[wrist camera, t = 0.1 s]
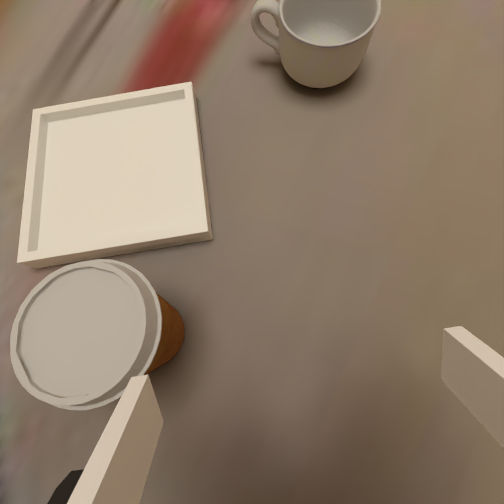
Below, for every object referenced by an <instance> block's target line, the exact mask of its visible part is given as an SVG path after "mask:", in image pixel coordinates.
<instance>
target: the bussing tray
mask: <svg viewBox="0 0 504 504" xmlns="http://www.w3.org/2000/svg"><path fill="white" fill-rule="evenodd" d="M207 240H213V237H212V228H211V219H210V211H209V202H208V193H207V185H206V176H205V167H204V158H203V150H202V141H201V132H200V124H199V115H198V106H197V98H196V95H195V91H194V88H193V85H192V82H187V83H181V84H175V85H170V86H164V87H158V88H152V89H147V90H141V91H135V92H130V93H124V94H118V95H113V96H107V97H101V98H96V99H90V100H84V101H78V102H73V103H67V104H61V105H56V106H50V107H44V108H39V109H33V116H32V125H31V135H30V144H29V154H28V163H27V173H26V182H25V192H24V201H23V211H22V220H21V230H20V239H19V249H18V258H17V263H19V264H22V265H26V266H29V267H32V268H35V269H37V268H43V267H49V266H56V265H62V264H68V263H74V262H80V261H86V260H92V259H98V258H104V257H110V256H116V255H122V254H128V253H134V252H140V251H147V250H153V249H159V248H165V247H171V246H177V245H183V244H189V243H195V242H201V241H207Z"/></svg>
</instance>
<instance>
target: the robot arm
mask: <svg viewBox="0 0 504 504" xmlns="http://www.w3.org/2000/svg"><path fill="white" fill-rule="evenodd" d="M441 380H442V381H443V382H444V384H445V385H446V386H447V387H448V388H449V389H450V390H451V391H452V392H453V393H454V394H455V396H456V397H457V398H458V399H459V400H460V401H461V402H462V403H463V404H464V405H465V407H466V408H467V409H468V410H469V411H470V412H471V413H472V414H473V415H474V416H475V418H476V419H477V420H478V421H479V422H480V423H481V424H482V425H483V426H484V427H485V429H486V430H487V431H488V432H489V433H490V434H491V435H492V436H493V437H494V438H495V439H496V441H497V442H498V443H499V444H500V445H501V446H502V447H503V448H504V358H503V357H502V356H501V355H499V354H498V353H497V352H495V351H494V350H493V349H491V348H490V347H489V346H487V345H486V344H485V343H483V342H482V341H481V340H479V339H478V338H477V337H475V336H474V335H473V334H471V333H470V332H469V331H467V330H466V329H465V328H463V327H462V326H458V327H452V328H445V329H444V333H443V351H442V369H441ZM163 423H164V421H163V418H162V415H161V412H160V409H159V406H158V403H157V400H156V397H155V393H154V390H153V387H152V384H151V381H150V378H149V375H142V376H135V377H131V379H130V381H129V383H128V385H127V387H126V389H125V390H124V392H123V394H122V396H121V398H120V400H119V402H118V404H117V406H116V408H115V410H114V412H113V414H112V416H111V418H110V420H109V422H108V424H107V426H106V428H105V430H104V432H103V434H102V436H101V438H100V440H99V441H98V443H97V445H96V447H95V449H94V451H93V453H92V455H91V457H90V459H89V461H88V463H87V465H86V467H85V469H83V470H76V471H71V472H70V473H69V474H68V475H67V477H66V478H65V479H64V480H63V481H62V482H61V483H60V485H59V486H58V487H57V488H56V489H55V491H54V493H53V495H52V496H51V498H50V500H49V502H48V504H139V503H140V500H141V496H142V493H143V490H144V486H145V483H146V480H147V476H148V473H149V470H150V466H151V463H152V460H153V456H154V453H155V450H156V446H157V443H158V439H159V436H160V433H161V429H162V426H163Z"/></svg>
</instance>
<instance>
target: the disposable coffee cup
mask: <svg viewBox="0 0 504 504" xmlns="http://www.w3.org/2000/svg"><path fill="white" fill-rule="evenodd" d="M183 339H184V323H183V320H182V317H181V316H180V314H179V313H178V311H177V310H176V309H175V308H173V307H172V306H171V305H170V304H169V303H168V302H166V301H165V300H164V299H163V298H162V297H161V296H159V295H158V294H157V293H156V292H155V290H154V288H153V286H152V285H151V283H150V282H149V281H148V280H147V279H146V277H145V276H144V275H143V274H142V273H140V272H139V271H138V270H136V269H135V268H133V267H132V266H130V265H128V264H125V263H123V262H120V261H115V260H111V259H96V260H89V261H84V262H78V263H74V264H70V265H67V266H64V267H62V268H60V269H59V270H57V271H55V272H53V273H51V274H49V275H48V276H47V277H46V278H44V279H43V280H42V281H41V282H40V283H39V284H38V285H36V286H35V287H34V288H33V289H32V291H31V292H30V293H29V295H28V296H27V298H26V299H25V300H24V302H23V303H22V305H21V306H20V308H19V311H18V313H17V315H16V318H15V320H14V323H13V327H12V331H11V336H10V351H11V362H12V365H13V368H14V372H15V374H16V376H17V378H18V379H19V381H20V383H21V385H22V386H23V387H24V388H25V389H26V390H27V391H28V392H29V393H30V394H32V395H33V396H34V397H36V398H37V399H40V400H42V401H44V402H47V403H49V404H52V405H54V406H56V407H59V408H64V409H69V410H89V409H93V408H96V407H100V406H104V405H106V404H108V403H110V402H112V401H114V400H116V399H118V398H119V397H121V396H122V394H123V392H124V390H125V389H126V387H127V385H128V383H129V381H130V379H131V377H135V376H142V375H146V374H148V373H150V372H151V371H153V370H155V369H156V368H158V367H160V366H161V365H163V364H165V363H167V362H168V361H169V360H171V359H172V358H173V357H174V356H175V355H176V354H177V352H178V351H179V349H180V348H181V345H182V343H183Z"/></svg>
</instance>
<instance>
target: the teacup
mask: <svg viewBox="0 0 504 504" xmlns="http://www.w3.org/2000/svg"><path fill="white" fill-rule="evenodd" d="M263 12H267V13H270V14H271V15H272V16H273V17H274V19H275V22H276V26H277V27H278V28H279V37H278V36H276V35H274V34H272V33H271V32H269V31H268V30H267V29H266V28H265V27H264V26H263V25H262V24H261V22H260V19H259V15H260V14H261V13H263ZM380 13H381V0H280V3H278V2H276V1H275V0H258V1H257V2H256V4H255V5H254V7H253V9H252V13H251V25H252V28H253V31H254V32H255V34H256V35H257V36H258V37H259V38H260V39H261V40H262V41H263V42H265V43H266V44H268V45H269V46H271V47H272V48H274V50H275V52H276V53H277V54H280V57H281V62H282V64H283V67H284V69H285V70H286V72H287V73H288V74H289V76H290V77H291V78H292V79H294V80H295V81H296V82H298V83H300V84H302V85H305V86H308V87H313V88H326V87H331V86H334V85H337V84H339V83H341V82H343V81H344V80H346V79H347V78H348V77H350V76H351V75H352V74H353V73H354V72H355V70H356V69H357V67H358V66H359V64H360V63H361V61H362V59H363V56H364V54H365V52H366V49H367V47H368V44H369V41H370V39H371V36H372V33H373V30H374V27H375V25H376V23H377V21H378V19H379V16H380Z"/></svg>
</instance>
